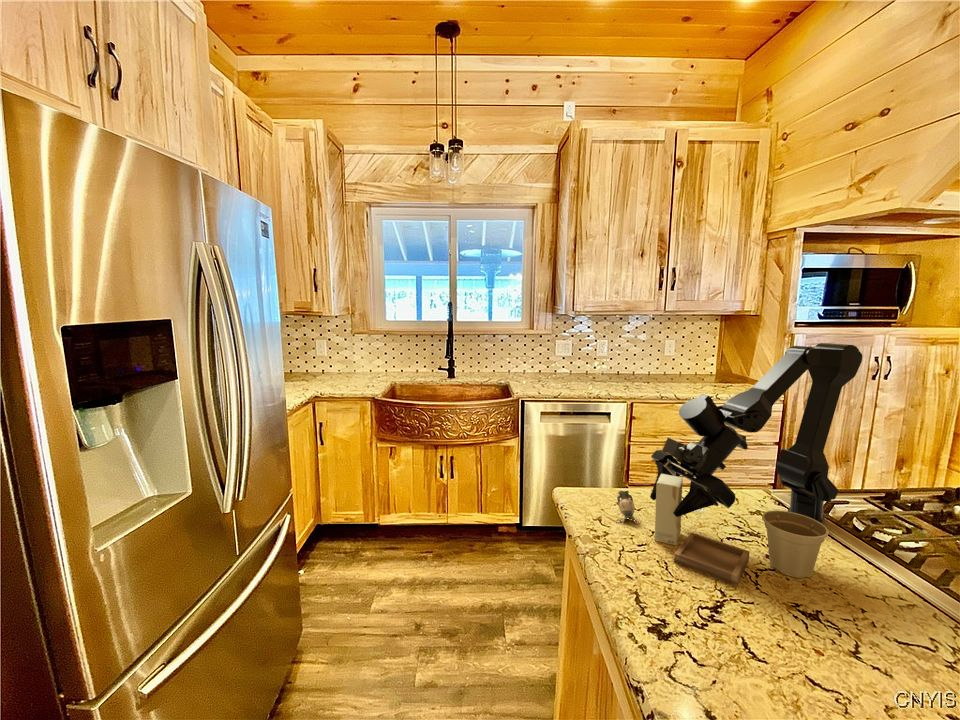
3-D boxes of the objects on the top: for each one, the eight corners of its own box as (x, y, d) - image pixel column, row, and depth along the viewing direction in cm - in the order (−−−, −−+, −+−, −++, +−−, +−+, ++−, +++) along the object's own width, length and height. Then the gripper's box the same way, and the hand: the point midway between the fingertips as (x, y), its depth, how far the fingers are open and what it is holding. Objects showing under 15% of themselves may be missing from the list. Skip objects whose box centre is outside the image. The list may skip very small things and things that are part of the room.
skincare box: (677, 547, 81) (679, 487, 79) (653, 540, 83) (655, 483, 82) (681, 532, 86) (683, 476, 85) (658, 527, 88) (660, 472, 87)
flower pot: (838, 588, 68) (842, 539, 67) (774, 581, 70) (777, 534, 69) (805, 556, 77) (808, 512, 76) (750, 551, 79) (752, 508, 78)
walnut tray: (690, 540, 83) (691, 532, 83) (748, 560, 76) (749, 551, 76) (674, 562, 76) (674, 553, 75) (736, 586, 69) (737, 576, 69)
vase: (610, 511, 96) (612, 486, 95) (634, 514, 95) (636, 489, 94) (614, 522, 90) (617, 496, 90) (639, 525, 90) (642, 499, 89)
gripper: (660, 414, 92) (614, 465, 91) (725, 438, 74) (669, 503, 73) (689, 445, 94) (644, 496, 93) (759, 476, 76) (705, 539, 75)
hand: (662, 506), depth 83 cm, fingers closed on skincare box, 7 cm apart
